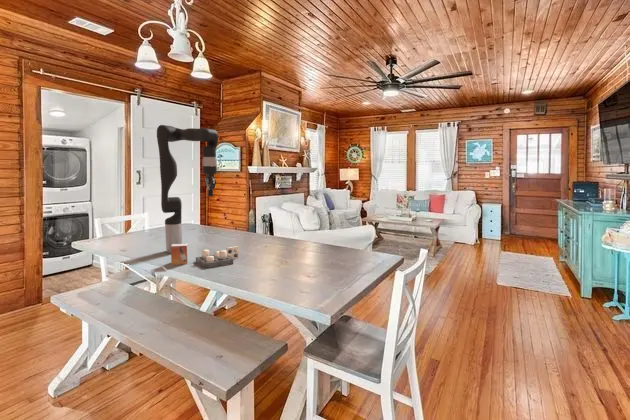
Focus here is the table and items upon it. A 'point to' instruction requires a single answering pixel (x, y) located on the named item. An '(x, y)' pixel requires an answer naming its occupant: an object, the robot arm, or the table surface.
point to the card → (233, 252)
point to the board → (215, 263)
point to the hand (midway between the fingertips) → (210, 196)
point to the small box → (179, 254)
